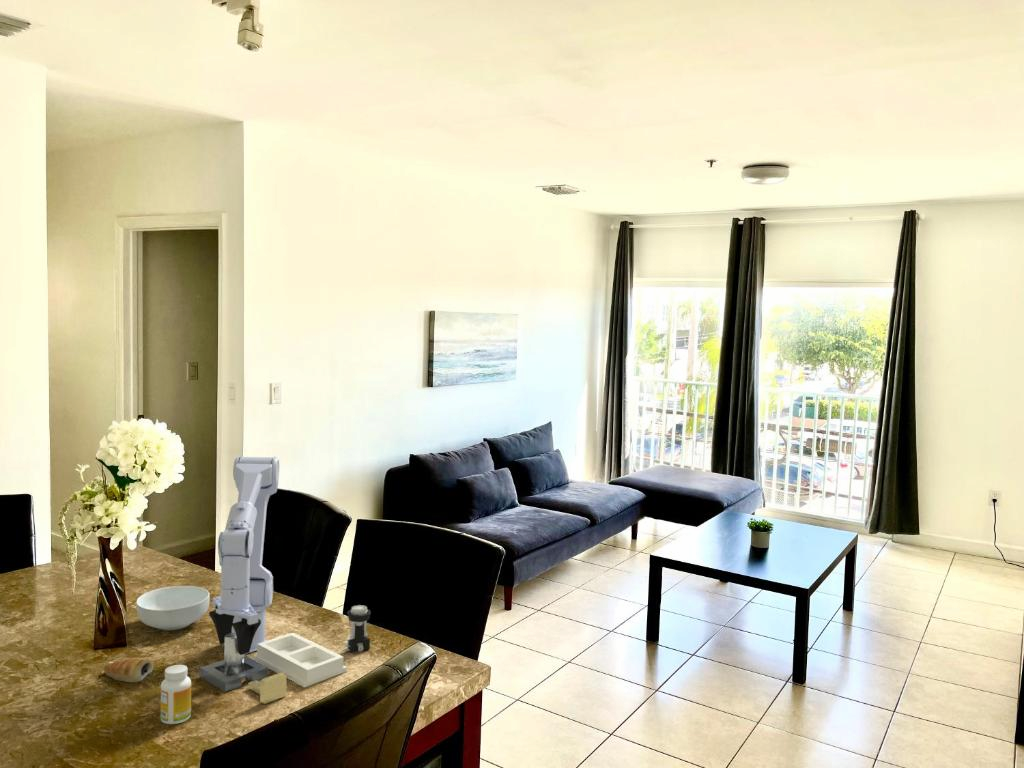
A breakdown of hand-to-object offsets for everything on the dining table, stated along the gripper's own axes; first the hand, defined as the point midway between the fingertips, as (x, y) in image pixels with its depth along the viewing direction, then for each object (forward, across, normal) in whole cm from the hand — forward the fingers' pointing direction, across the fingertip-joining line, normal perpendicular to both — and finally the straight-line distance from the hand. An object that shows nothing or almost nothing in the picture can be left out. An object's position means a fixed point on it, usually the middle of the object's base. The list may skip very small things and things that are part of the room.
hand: (234, 647), depth 172 cm
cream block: (+6, +11, 0) cm, 13 cm away
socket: (+6, 0, 0) cm, 6 cm away
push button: (+6, +7, +27) cm, 29 cm away
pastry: (+7, -16, -15) cm, 23 cm away
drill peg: (+6, 0, 0) cm, 6 cm away
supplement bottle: (+7, +8, -17) cm, 20 cm away
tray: (+6, +5, +13) cm, 15 cm away
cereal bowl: (+6, -36, +5) cm, 37 cm away
